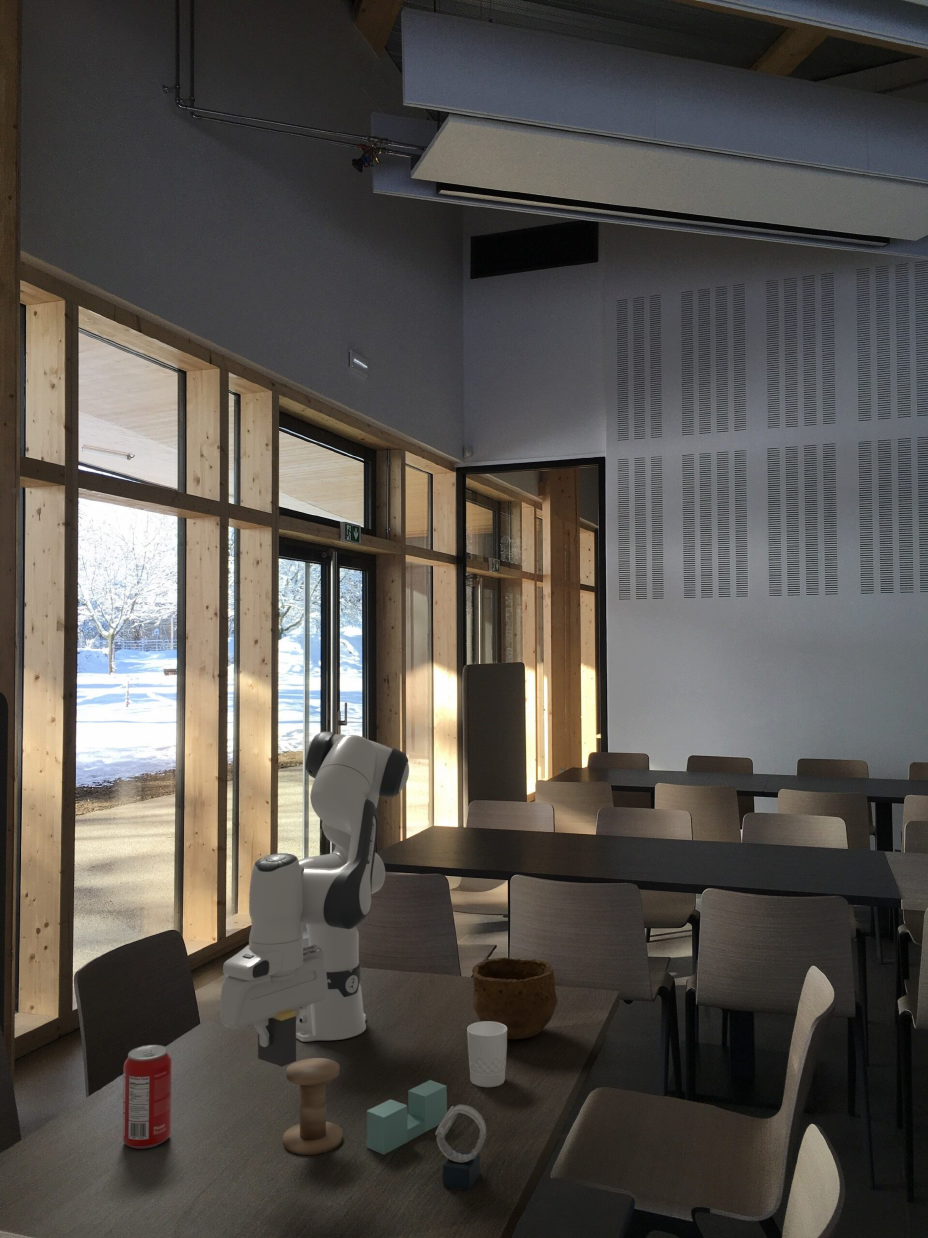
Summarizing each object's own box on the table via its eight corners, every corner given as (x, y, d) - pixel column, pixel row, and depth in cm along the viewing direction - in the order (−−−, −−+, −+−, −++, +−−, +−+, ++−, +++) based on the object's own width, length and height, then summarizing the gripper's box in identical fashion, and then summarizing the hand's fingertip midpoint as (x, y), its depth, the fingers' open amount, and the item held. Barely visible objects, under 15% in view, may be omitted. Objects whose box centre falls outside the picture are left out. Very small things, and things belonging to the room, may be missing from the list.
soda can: (126, 1156, 161) (127, 1064, 162) (119, 1137, 168) (120, 1048, 169) (174, 1146, 164) (175, 1055, 165) (166, 1127, 171) (167, 1040, 172)
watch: (442, 1167, 156) (442, 1097, 157) (490, 1175, 154) (490, 1103, 155) (430, 1184, 151) (430, 1112, 152) (480, 1192, 149) (479, 1119, 149)
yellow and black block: (258, 1058, 160) (258, 1009, 161) (272, 1053, 163) (272, 1004, 163) (281, 1066, 157) (281, 1015, 157) (296, 1061, 159) (295, 1011, 160)
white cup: (504, 1090, 185) (503, 1037, 186) (463, 1087, 187) (463, 1034, 187) (510, 1074, 193) (510, 1022, 193) (471, 1071, 194) (471, 1020, 195)
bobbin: (270, 1142, 165) (271, 1070, 166) (315, 1121, 173) (315, 1052, 174) (310, 1161, 159) (310, 1085, 159) (354, 1138, 166) (354, 1066, 167)
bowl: (458, 1028, 218) (457, 961, 219) (532, 1016, 225) (531, 951, 226) (493, 1058, 201) (492, 985, 202) (572, 1044, 208) (571, 973, 209)
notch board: (366, 1147, 163) (366, 1111, 163) (430, 1114, 175) (429, 1080, 176) (383, 1155, 161) (383, 1117, 161) (446, 1120, 173) (446, 1086, 173)
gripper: (310, 939, 171) (311, 1020, 170) (214, 966, 155) (214, 1055, 154) (335, 945, 167) (336, 1027, 166) (239, 973, 151) (239, 1064, 150)
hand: (276, 1041), depth 160 cm, fingers closed on yellow and black block, 3 cm apart
